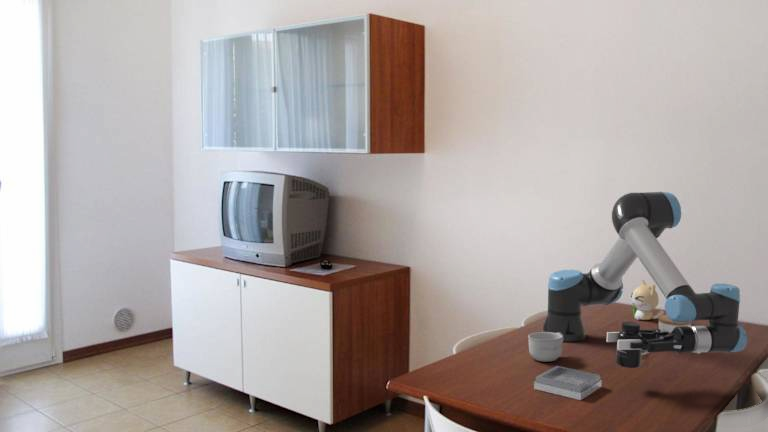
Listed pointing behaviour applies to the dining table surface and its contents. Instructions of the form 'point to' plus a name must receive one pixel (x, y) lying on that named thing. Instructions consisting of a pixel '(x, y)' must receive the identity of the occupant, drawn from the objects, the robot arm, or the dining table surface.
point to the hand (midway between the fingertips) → (612, 340)
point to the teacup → (545, 345)
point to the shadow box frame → (568, 382)
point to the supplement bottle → (629, 356)
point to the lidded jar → (670, 324)
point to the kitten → (645, 302)
